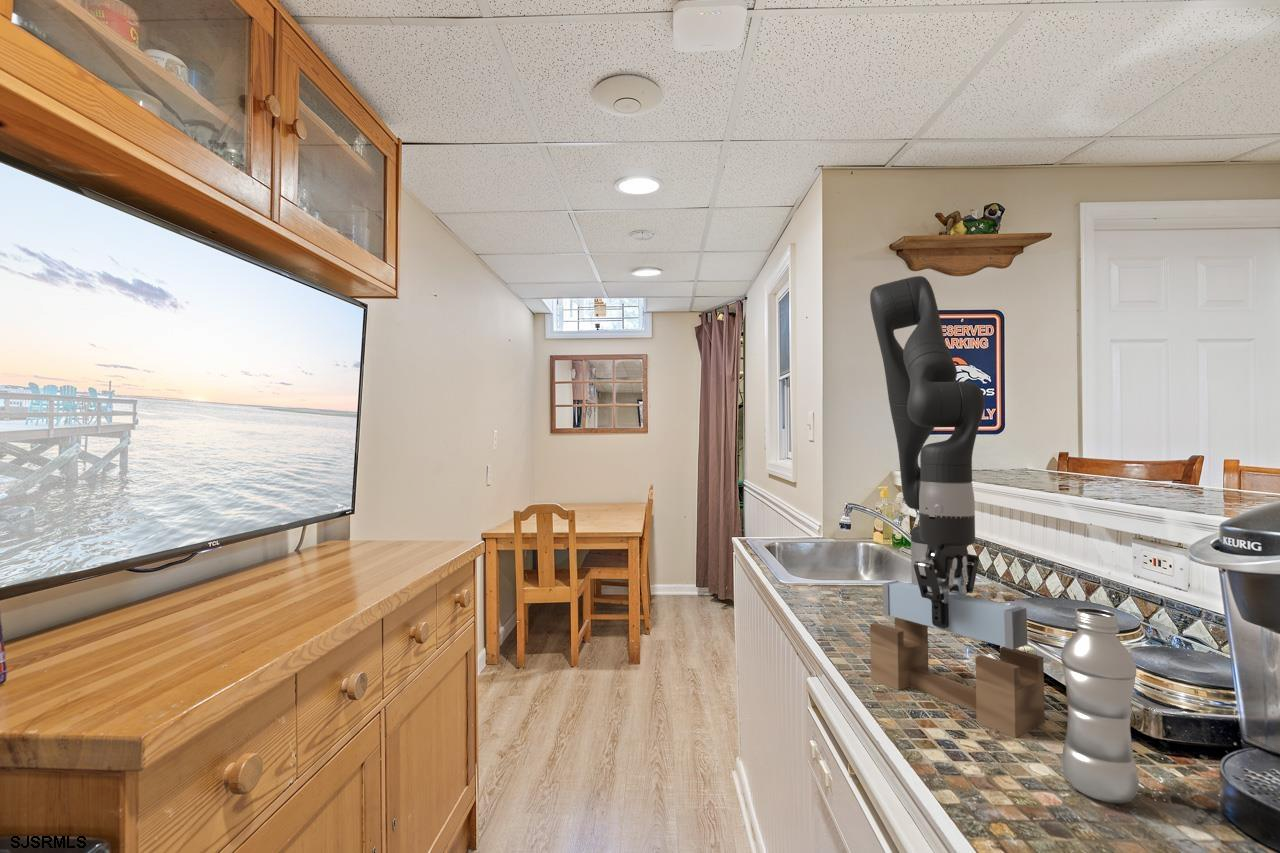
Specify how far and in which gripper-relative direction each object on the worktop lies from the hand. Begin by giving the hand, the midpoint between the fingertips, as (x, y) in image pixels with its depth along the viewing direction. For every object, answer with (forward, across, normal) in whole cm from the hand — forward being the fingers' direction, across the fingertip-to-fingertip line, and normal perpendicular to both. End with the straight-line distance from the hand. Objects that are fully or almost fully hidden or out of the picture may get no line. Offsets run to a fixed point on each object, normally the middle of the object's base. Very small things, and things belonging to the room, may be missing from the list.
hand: (948, 623), depth 87 cm
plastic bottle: (+11, +9, +22) cm, 26 cm away
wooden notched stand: (+11, 0, 0) cm, 11 cm away
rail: (+1, 0, 0) cm, 1 cm away
